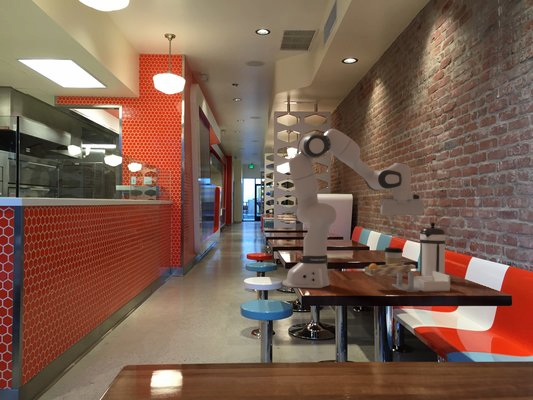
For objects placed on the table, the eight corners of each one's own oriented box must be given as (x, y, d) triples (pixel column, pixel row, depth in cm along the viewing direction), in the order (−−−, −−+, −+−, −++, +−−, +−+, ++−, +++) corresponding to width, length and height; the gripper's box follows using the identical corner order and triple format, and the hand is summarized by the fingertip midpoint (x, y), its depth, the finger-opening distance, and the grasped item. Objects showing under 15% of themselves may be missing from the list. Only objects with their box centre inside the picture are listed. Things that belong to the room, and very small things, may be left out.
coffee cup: (400, 274, 233) (400, 247, 233) (404, 277, 223) (404, 249, 223) (382, 273, 234) (382, 247, 234) (385, 276, 224) (386, 249, 224)
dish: (423, 291, 188) (424, 275, 188) (409, 285, 201) (409, 271, 201) (449, 291, 189) (450, 275, 189) (433, 285, 203) (434, 270, 203)
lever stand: (406, 292, 186) (406, 272, 186) (391, 285, 201) (392, 267, 201) (419, 291, 186) (419, 272, 187) (403, 285, 201) (403, 267, 201)
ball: (371, 273, 189) (370, 264, 189) (368, 272, 193) (367, 263, 193) (379, 272, 190) (378, 263, 190) (376, 270, 194) (375, 262, 194)
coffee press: (454, 282, 210) (455, 223, 210) (422, 282, 210) (423, 222, 211) (440, 276, 227) (441, 221, 228) (411, 276, 228) (412, 221, 228)
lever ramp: (371, 278, 187) (370, 269, 187) (358, 272, 204) (357, 264, 203) (423, 272, 191) (423, 263, 191) (406, 266, 207) (406, 258, 207)
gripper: (381, 196, 200) (382, 225, 200) (424, 195, 199) (425, 224, 199) (378, 196, 207) (379, 224, 207) (420, 195, 206) (421, 223, 206)
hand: (402, 224), depth 203 cm, fingers open, 8 cm apart
